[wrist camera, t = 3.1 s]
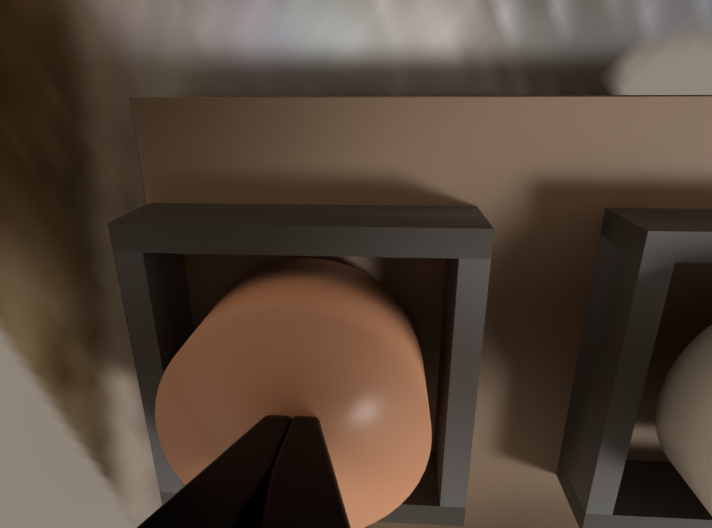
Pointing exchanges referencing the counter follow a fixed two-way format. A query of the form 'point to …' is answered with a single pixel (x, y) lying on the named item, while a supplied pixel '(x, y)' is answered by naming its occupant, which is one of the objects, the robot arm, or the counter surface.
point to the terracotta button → (306, 379)
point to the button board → (457, 273)
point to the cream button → (689, 416)
